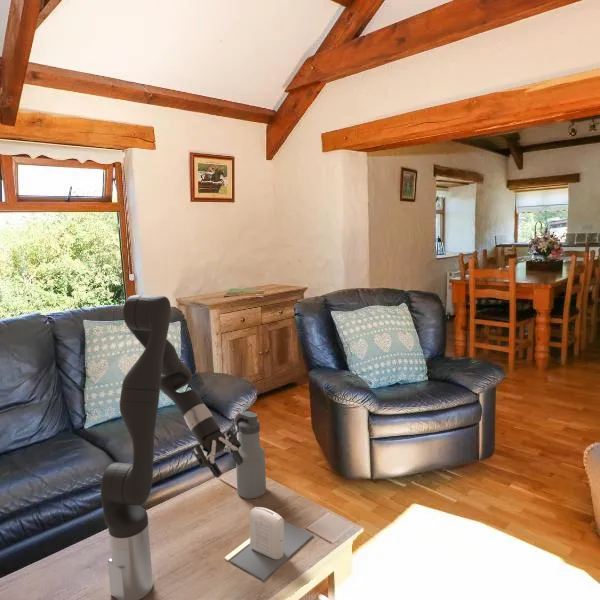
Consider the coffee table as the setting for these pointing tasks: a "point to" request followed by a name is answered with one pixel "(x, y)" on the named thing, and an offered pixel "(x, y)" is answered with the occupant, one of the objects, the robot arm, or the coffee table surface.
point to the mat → (263, 564)
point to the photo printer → (267, 532)
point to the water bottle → (250, 457)
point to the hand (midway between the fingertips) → (230, 469)
